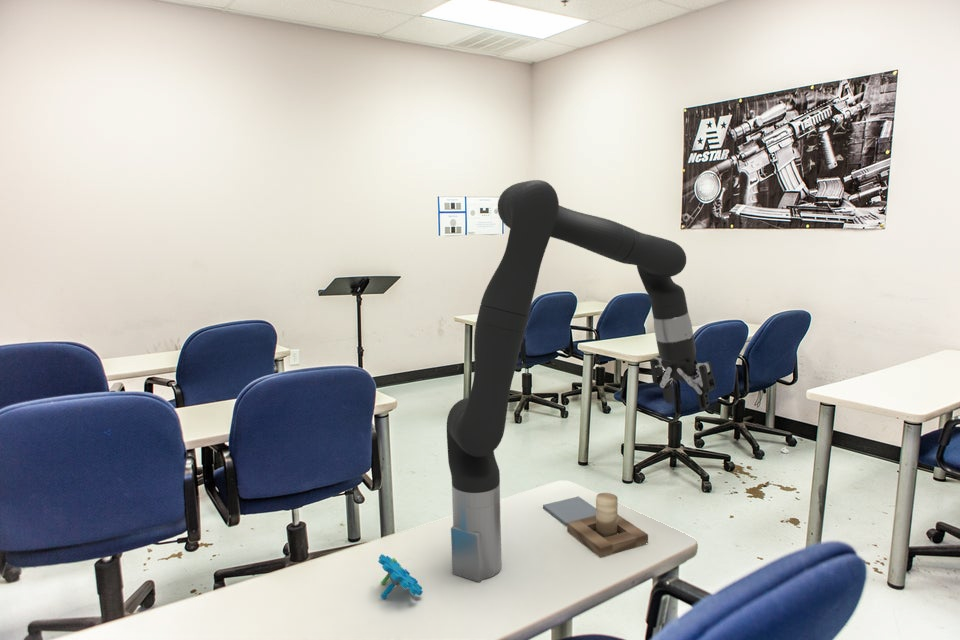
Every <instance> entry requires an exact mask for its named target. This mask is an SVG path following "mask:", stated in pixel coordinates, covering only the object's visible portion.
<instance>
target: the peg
mask: <svg viewBox="0 0 960 640" xmlns="http://www.w3.org/2000/svg"><path fill="white" fill-rule="evenodd" d="M618 499H619V498H618V496H617V495H615V494H614V493H611V492H600V493H598V494H596V497H595V508H596V533H598V534H599V535H600V536H602V537H603V538H605V537H609V536H613V535H616V534H617V514H618V507H619V506H618V504H619V503H618Z"/></svg>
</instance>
